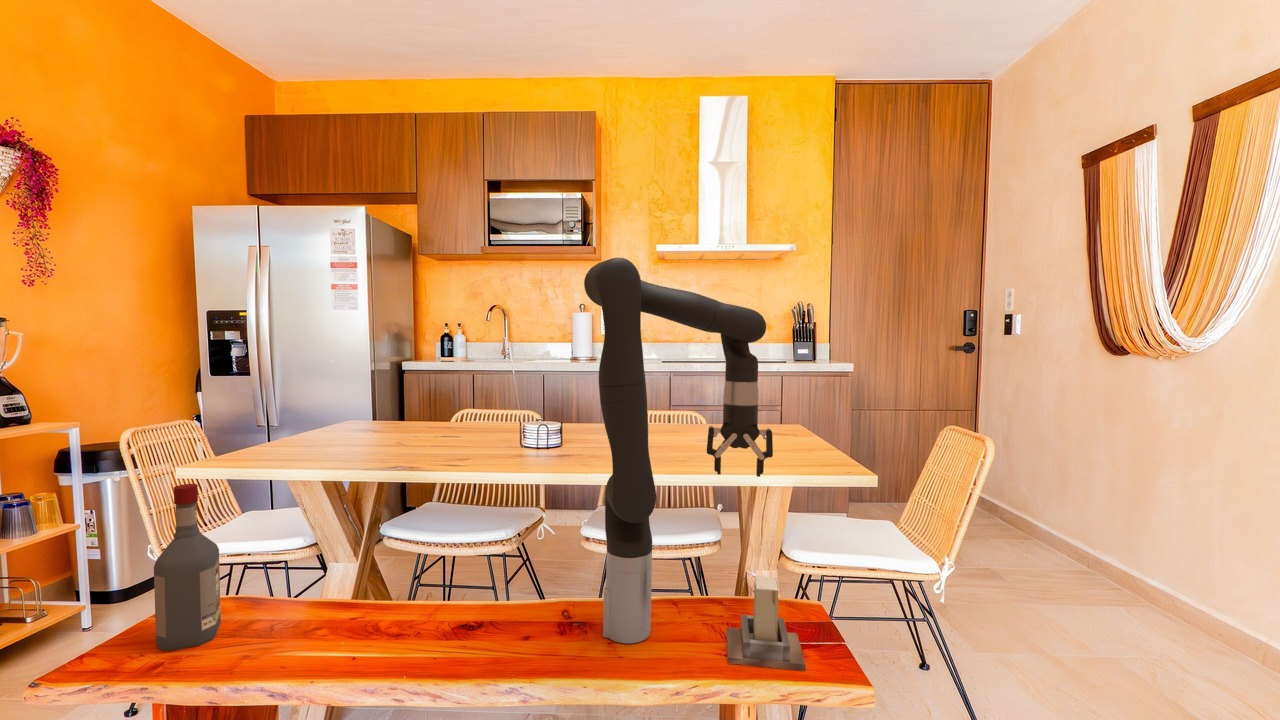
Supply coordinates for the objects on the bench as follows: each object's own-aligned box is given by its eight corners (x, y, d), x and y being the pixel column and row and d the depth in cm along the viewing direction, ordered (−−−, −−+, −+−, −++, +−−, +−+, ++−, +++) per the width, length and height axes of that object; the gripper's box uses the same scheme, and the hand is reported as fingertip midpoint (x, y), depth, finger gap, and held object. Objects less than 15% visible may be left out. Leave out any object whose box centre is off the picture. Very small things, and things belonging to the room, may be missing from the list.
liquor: (153, 655, 107) (148, 495, 105) (166, 632, 115) (162, 482, 113) (214, 643, 111) (210, 489, 109) (222, 621, 119) (219, 478, 117)
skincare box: (777, 654, 109) (779, 591, 108) (753, 652, 109) (755, 589, 109) (774, 636, 115) (776, 576, 114) (752, 634, 116) (754, 574, 115)
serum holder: (727, 663, 108) (728, 641, 107) (726, 632, 118) (727, 612, 118) (805, 670, 106) (806, 648, 106) (796, 638, 117) (797, 618, 116)
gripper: (707, 402, 124) (705, 477, 125) (775, 405, 122) (773, 481, 123) (708, 398, 131) (706, 469, 132) (772, 400, 129) (770, 472, 130)
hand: (738, 474), depth 127 cm, fingers open, 8 cm apart
